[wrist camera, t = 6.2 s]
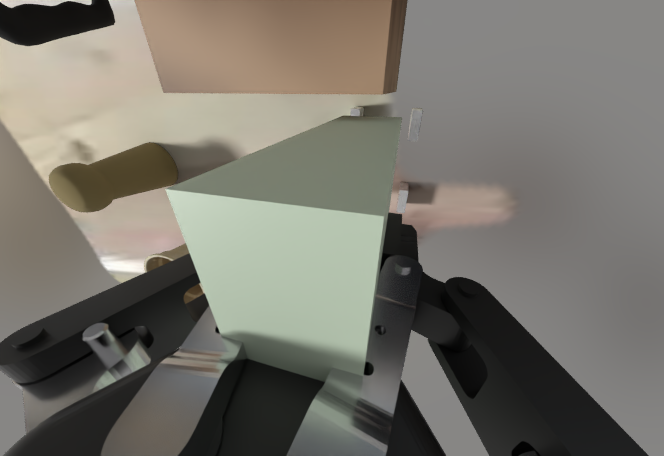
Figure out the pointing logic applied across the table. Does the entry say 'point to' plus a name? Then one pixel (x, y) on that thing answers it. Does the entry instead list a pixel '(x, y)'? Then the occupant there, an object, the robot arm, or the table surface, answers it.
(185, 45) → the brown wooden box
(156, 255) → the flower pot
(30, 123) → the table surface
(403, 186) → the small rectangular blocks
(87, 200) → the cork
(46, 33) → the coffeepot
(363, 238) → the door panel
